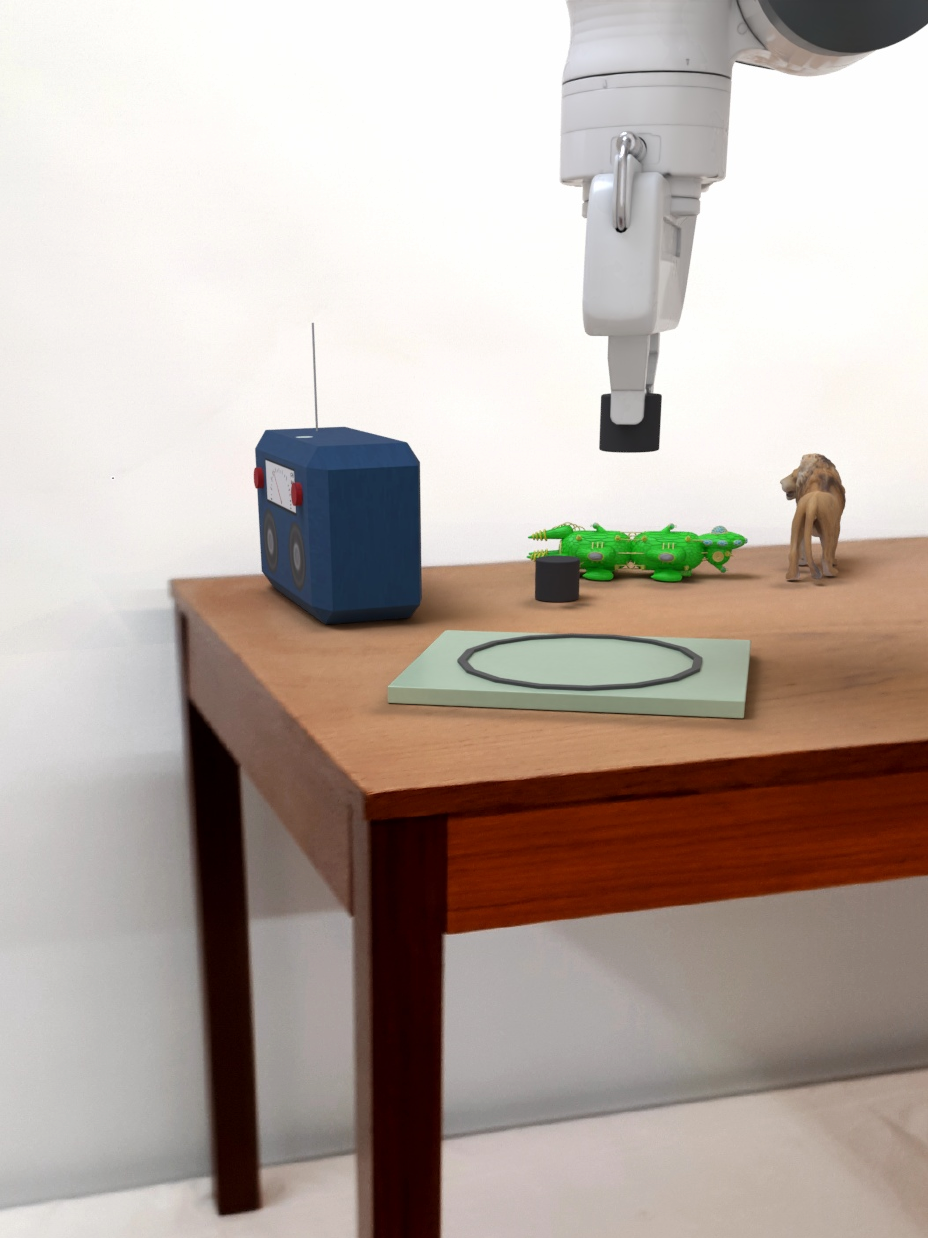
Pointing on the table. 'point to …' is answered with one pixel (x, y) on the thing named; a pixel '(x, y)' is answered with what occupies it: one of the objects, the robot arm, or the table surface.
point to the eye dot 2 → (631, 428)
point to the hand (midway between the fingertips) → (631, 420)
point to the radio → (340, 521)
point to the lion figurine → (814, 513)
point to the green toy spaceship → (641, 550)
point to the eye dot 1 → (557, 578)
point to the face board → (579, 673)
